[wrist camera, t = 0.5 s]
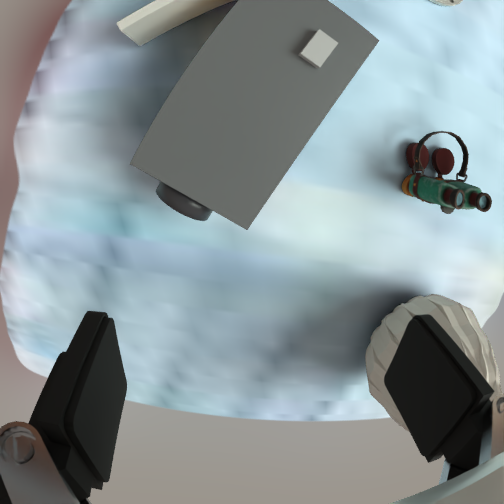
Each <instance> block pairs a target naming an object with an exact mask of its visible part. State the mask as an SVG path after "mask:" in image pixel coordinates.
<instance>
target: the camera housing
mask: <svg viewBox="0 0 504 504" xmlns="http://www.w3.org/2000/svg"><path fill="white" fill-rule="evenodd" d="M378 42H379V40H378V39H377V38H376V37H374V36H373V35H372V34H371V33H370V32H369V31H367V30H366V29H365V28H364V27H362V26H361V25H360V24H359V23H357V22H356V21H355V20H354V19H352V18H351V17H350V16H348V15H347V14H346V13H344V12H343V11H342V10H340V9H339V8H338V7H336V6H335V5H334V4H332V3H331V2H329V1H328V0H238V1H237V3H236V4H235V5H234V6H233V7H232V9H231V10H230V11H229V12H228V14H227V15H226V16H225V17H224V18H223V20H222V21H221V22H220V24H219V25H218V26H217V27H216V29H215V30H214V31H213V33H212V34H211V35H210V37H209V38H208V39H207V41H206V42H205V43H204V45H203V46H202V47H201V49H200V50H199V51H198V53H197V54H196V56H195V57H194V58H193V60H192V61H191V63H190V64H189V66H188V67H187V69H186V70H185V72H184V73H183V74H182V76H181V77H180V79H179V81H178V82H177V84H176V85H175V87H174V88H173V90H172V91H171V93H170V94H169V96H168V98H167V99H166V101H165V102H164V104H163V106H162V107H161V109H160V111H159V112H158V114H157V116H156V117H155V119H154V121H153V122H152V124H151V126H150V128H149V129H148V131H147V133H146V135H145V136H144V138H143V140H142V142H141V144H140V146H139V147H138V149H137V151H136V153H135V155H134V157H133V159H132V161H131V162H130V164H131V165H133V166H134V167H136V168H138V169H140V170H142V171H143V172H145V173H147V174H149V175H151V176H152V177H154V178H156V179H158V180H160V181H161V182H160V184H159V186H158V187H157V189H156V193H157V195H158V196H159V198H160V199H161V200H162V201H163V202H164V203H166V204H167V205H168V206H170V207H171V208H172V209H174V210H176V211H177V212H179V213H181V214H183V215H185V216H187V217H190V218H192V219H195V220H200V221H205V220H207V219H208V218H209V216H210V214H211V213H212V211H215V212H216V213H218V214H220V215H222V216H223V217H225V218H227V219H229V220H230V221H232V222H234V223H236V224H237V225H239V226H241V227H243V228H244V229H246V230H248V228H249V227H250V225H251V224H252V222H253V221H254V219H255V218H256V216H257V215H258V213H259V212H260V210H261V209H262V207H263V206H264V204H265V203H266V202H267V200H268V199H269V197H270V196H271V194H272V193H273V191H274V190H275V188H276V187H277V185H278V184H279V183H280V181H281V180H282V178H283V177H284V175H285V174H286V172H287V171H288V169H289V168H290V167H291V165H292V164H293V162H294V161H295V159H296V158H297V156H298V155H299V153H300V152H301V151H302V149H303V148H304V146H305V145H306V143H307V142H308V141H309V139H310V138H311V136H312V135H313V133H314V132H315V130H316V129H317V128H318V126H319V125H320V123H321V122H322V120H323V119H324V118H325V116H326V115H327V113H328V112H329V110H330V109H331V108H332V106H333V105H334V103H335V102H336V101H337V99H338V98H339V96H340V95H341V93H342V92H343V91H344V89H345V88H346V86H347V85H348V84H349V82H350V81H351V79H352V78H353V77H354V75H355V74H356V72H357V71H358V70H359V68H360V67H361V65H362V64H363V63H364V61H365V60H366V58H367V57H368V56H369V54H370V53H371V51H372V50H373V49H374V47H375V46H376V45H377V43H378Z"/></svg>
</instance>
